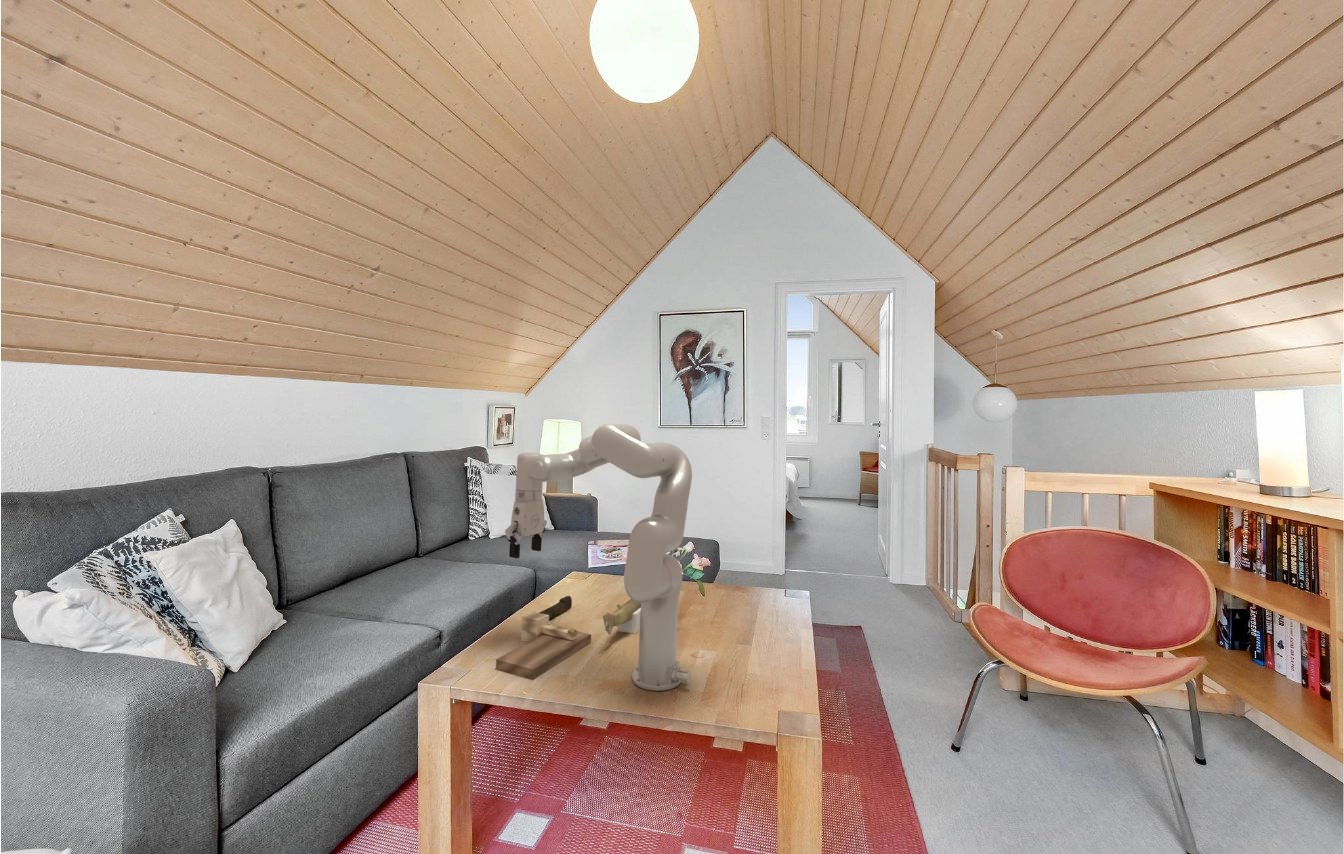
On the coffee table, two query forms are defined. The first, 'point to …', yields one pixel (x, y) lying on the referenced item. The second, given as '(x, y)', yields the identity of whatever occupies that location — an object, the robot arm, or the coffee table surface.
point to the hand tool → (558, 607)
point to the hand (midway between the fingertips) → (525, 553)
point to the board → (541, 654)
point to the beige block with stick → (542, 628)
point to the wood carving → (624, 618)
